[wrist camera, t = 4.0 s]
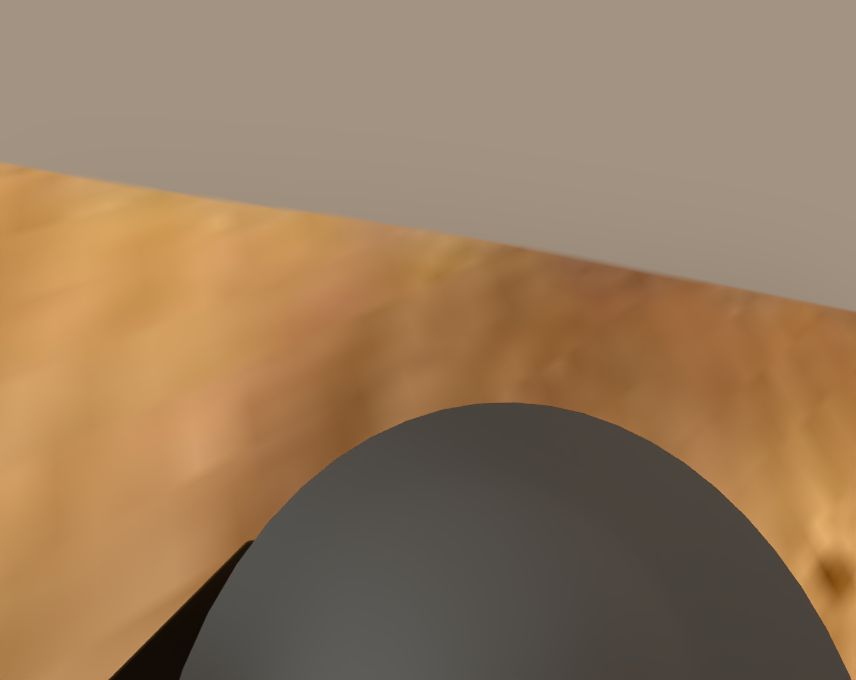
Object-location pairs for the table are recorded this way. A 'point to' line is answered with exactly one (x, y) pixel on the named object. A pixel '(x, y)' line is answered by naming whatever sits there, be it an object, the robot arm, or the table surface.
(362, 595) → the grey rounded peg
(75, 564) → the table surface
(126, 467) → the table surface
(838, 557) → the table surface
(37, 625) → the table surface
